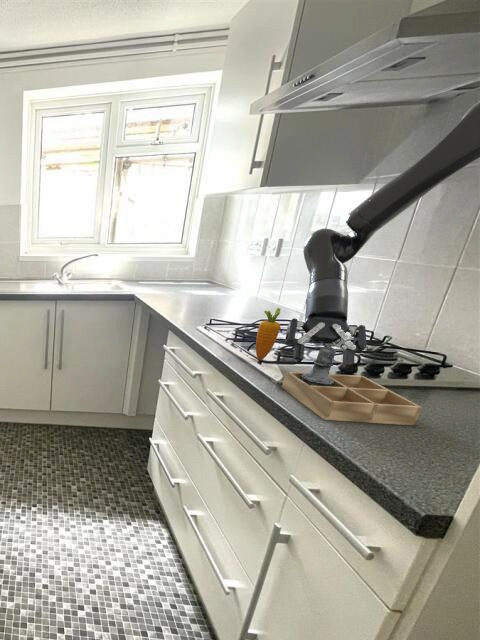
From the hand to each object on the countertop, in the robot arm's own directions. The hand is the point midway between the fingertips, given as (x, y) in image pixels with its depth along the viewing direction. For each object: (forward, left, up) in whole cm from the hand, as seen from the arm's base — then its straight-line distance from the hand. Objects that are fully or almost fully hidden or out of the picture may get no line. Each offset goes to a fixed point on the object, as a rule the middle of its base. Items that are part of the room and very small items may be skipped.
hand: (322, 364), depth 93 cm
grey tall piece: (0, 0, -7) cm, 7 cm away
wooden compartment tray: (-6, +1, -8) cm, 10 cm away
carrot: (+15, -18, -8) cm, 25 cm away
